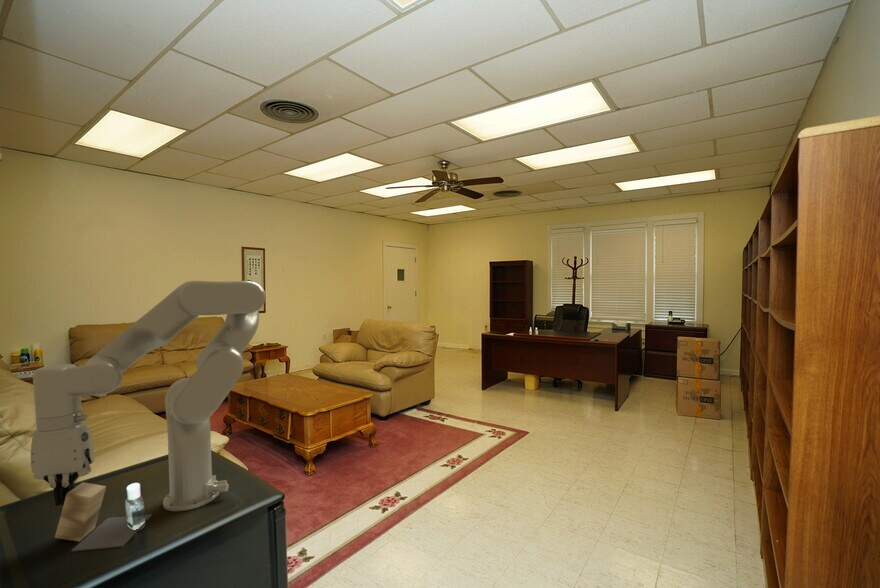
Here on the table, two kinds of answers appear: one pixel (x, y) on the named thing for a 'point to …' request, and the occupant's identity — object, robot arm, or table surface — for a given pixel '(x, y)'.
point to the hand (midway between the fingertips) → (64, 502)
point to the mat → (108, 535)
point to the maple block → (80, 511)
